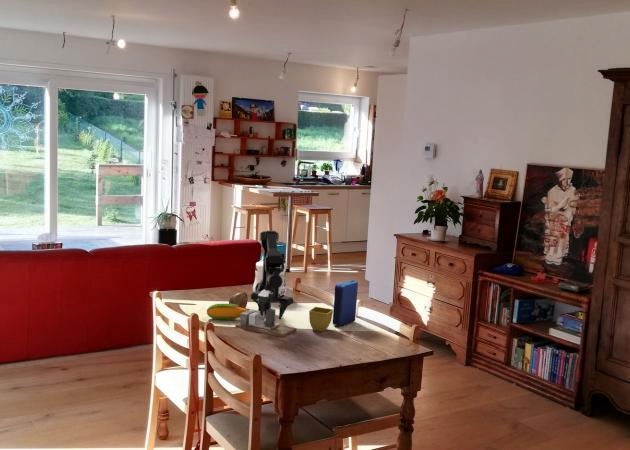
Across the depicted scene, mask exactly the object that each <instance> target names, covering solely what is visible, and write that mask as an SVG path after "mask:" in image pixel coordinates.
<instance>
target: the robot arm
mask: <svg viewBox="0 0 630 450" xmlns="http://www.w3.org/2000/svg"><path fill="white" fill-rule="evenodd" d="M279 239H280V237H279V232H277V231H276V230H266V231H264V230H263V231H262V232H259V242H260V245H261V247H262V249H263V257H262V259H263V260H262V261H263V274H262V280H261V281H260V283H259V287H258V288H257V291H256V292H253V291H252V293H251V294H250V300H253V301H252V302H255V304H256V305H257V308H258V309H257V311H260V314H261V316H263V313H264V312H265V313H264V316H266V310H267V309H269V308H270V309H272V302H278V304H279V305H278V307H279V313H278V317H279V318H278V319H279V320H281V319H282V318H283V316H284V314H285V312H286V310H287V309H288V307H289V306H291V305H294V298H293V296H292V297H291V296H288V295H287V296H286V295H285V296H284V297H282V298H280V297H279V296H280V294H279V287H281V285H282V278H281V276H280V272H283V269H284V268H285V267H284V264H285V259H284V257H283V256H282V253H281V251H279V250H278V243H277V242H279ZM280 267H281V268H280Z"/></svg>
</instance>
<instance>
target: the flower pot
mask: <svg viewBox="0 0 630 450" xmlns="http://www.w3.org/2000/svg"><path fill="white" fill-rule="evenodd" d="M333 310H334V308H333V309H332V308H327V307H321V306H320V307H319V306H314V307H312V308H311V309H309V312H308V314H309V318H308V319H309V324H310V326H311V328H312V330H313V331H320V332H325V331H326V330H328V328H329V326H330V324H331V322H332V320H333Z"/></svg>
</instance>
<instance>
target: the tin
mask: <svg viewBox="0 0 630 450" xmlns="http://www.w3.org/2000/svg"><path fill="white" fill-rule="evenodd" d="M248 298H249V297H248V294H247V292H245V291H243V292H242V291H239V292H237V293H235V294H233V295H231V296H230V297H229V299H228V304H236V305H239V306H234V307H240V308H245V309H247V305H248Z"/></svg>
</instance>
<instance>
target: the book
mask: <svg viewBox="0 0 630 450" xmlns="http://www.w3.org/2000/svg"><path fill="white" fill-rule="evenodd" d="M358 291H359V282H358V280H357V281H356V280H353V279H350V280H348V281H344V282H341V283H336V284H335V285H334V297H333V314H332V325H333V326H338V327H343V326H347V325H349V324H350V323H354V322H356V314H357V302H358V301H357V300H358Z"/></svg>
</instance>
